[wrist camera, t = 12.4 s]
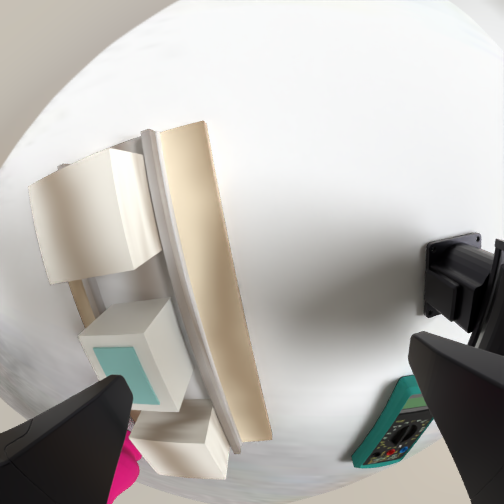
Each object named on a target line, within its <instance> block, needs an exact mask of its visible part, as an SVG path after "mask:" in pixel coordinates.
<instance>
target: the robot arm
mask: <svg viewBox="0 0 504 504" xmlns="http://www.w3.org/2000/svg"><path fill="white" fill-rule="evenodd" d="M476 238H477V240H476ZM432 247H433V251H431V249H432ZM495 247H496V248H495V253H494V254H493V253H490V252H488V251H485V250H482V249H481V235H480V234H479V233H471V234H466V235H462V236H457V237H453V238H448V239H444V240H439V241H434V242H430V243H429V244H428V245H427V249H426V274H425V295H424V300H425V304H424V315H425V316H426V317H428V318H431V317H433V316H436V315H439V314H442V315H443V316H445V317H446V318H447V319H448V320H449V321H451V322H452V321H454V322H455V323H457V324H458V325H459V326H460V327H461V328H462V329H464V330H465V331H466V332H467V333H471V332H472V334H471V337H470V339H469V342H468V344H467V345H465V344H462V343H459V342H456V341H453V340H450V339H446V338H443V337H440V336H437V335H434V334H431V333H428V332H425V331H422V332H419V333H416V334H413V335H412V336H411V339H410V347H409V354H408V361H409V364H410V367H411V369H412V372H413V374H414V376H415V379H416V381H417V384H418V386H419V389H420V391H421V394H422V396H423V398H424V401H425V403H426V405H427V407H428V409H429V410H430V412H431V414H432V416H433V418H434V420H435V422H436V424H437V426H438V428H439V430H440V432H441V434H442V436H443V438H444V440H445V442H446V444H447V446H448V448H449V451H450V453H451V455H452V457H453V459H454V462H455V464H456V466H457V468H458V471H459V473H460V475H461V478H462V480H463V482H464V485H465V487H466V490H467V492H468V495H469V498H470V499H471V504H504V240H501V239H496V241H495ZM429 311H430V312H429ZM132 404H133V394H132V391H131V390H130V388H129V386H128V384H127V382H126V380H125V378H124V377H123V376H122V375H115V374H112V375H109V376H107V377H106V378H104V379H102V380H100V381H99V382H97V383H95V384H94V385H92V386H90V387H88V388H87V389H85V390H83V391H81V392H79V393H78V394H76V395H74V396H72V397H71V398H69V399H67V400H65V401H63V402H62V403H60V404H58V405H56V406H54V407H52V408H51V409H49V410H47V411H45V412H43V413H41V414H39V415H38V416H36V417H34V418H32V419H30V420H28V421H26V422H24V423H22V424H20V425H18V426H16V427H14V428H12V429H9V430H8V431H5V432H3V433H0V504H107V501H108V497H109V493H110V490H111V486H112V482H113V478H114V475H115V471H116V468H117V464H118V461H119V457H120V454H121V451H122V447H123V444H124V441H125V437H126V433H127V428H128V423H129V418H130V413H131V408H132Z"/></svg>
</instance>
